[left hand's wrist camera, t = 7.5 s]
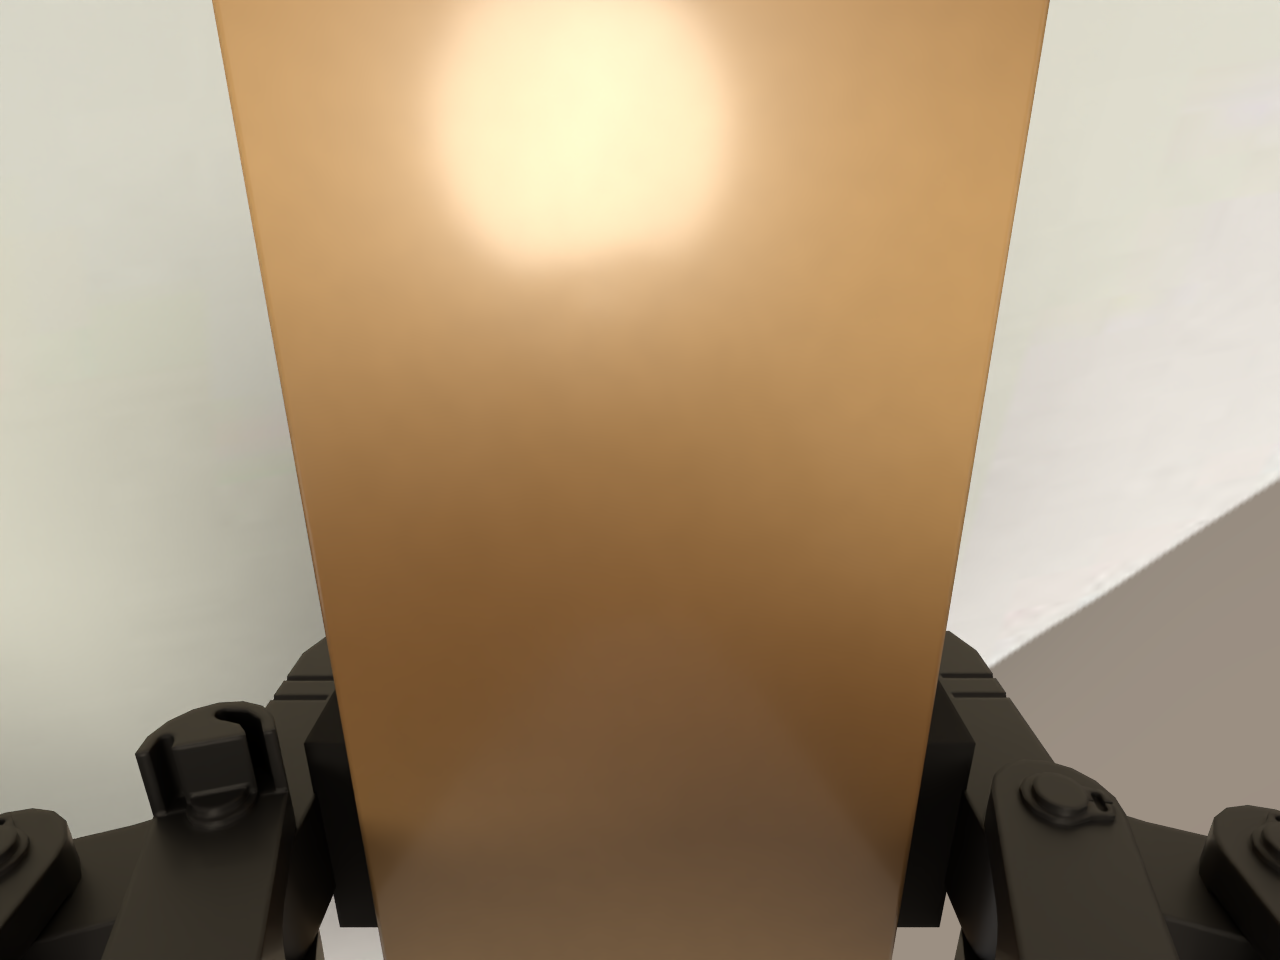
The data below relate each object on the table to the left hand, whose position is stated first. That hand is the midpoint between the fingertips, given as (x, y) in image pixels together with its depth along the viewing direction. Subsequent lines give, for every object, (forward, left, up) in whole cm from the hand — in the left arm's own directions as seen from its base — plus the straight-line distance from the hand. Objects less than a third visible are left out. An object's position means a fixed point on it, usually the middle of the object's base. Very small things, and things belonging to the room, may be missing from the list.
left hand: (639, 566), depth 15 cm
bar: (+24, +27, -1) cm, 36 cm away
